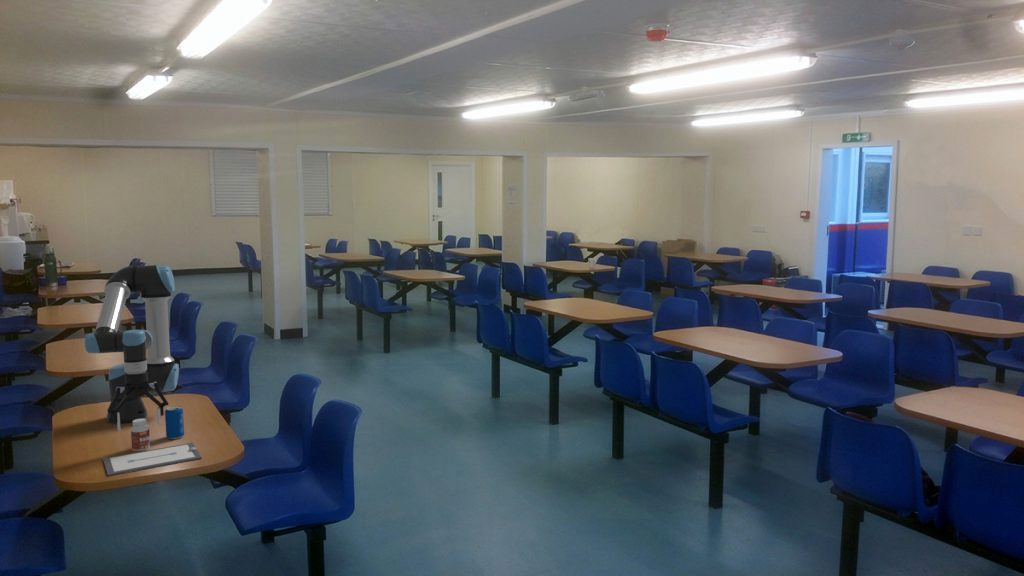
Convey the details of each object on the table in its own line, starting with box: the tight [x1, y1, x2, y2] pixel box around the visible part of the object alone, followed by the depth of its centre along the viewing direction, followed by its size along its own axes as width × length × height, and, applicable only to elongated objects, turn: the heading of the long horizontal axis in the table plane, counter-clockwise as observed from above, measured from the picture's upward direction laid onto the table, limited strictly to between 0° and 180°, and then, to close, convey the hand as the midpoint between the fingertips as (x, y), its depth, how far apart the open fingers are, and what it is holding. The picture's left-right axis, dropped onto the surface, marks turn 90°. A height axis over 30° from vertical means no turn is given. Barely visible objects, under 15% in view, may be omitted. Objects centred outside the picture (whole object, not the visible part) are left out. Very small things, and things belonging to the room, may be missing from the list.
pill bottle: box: [130, 418, 151, 452], centre depth 276 cm, size 6×6×11 cm
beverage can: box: [164, 405, 185, 440], centre depth 289 cm, size 6×6×12 cm
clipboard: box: [102, 442, 203, 477], centre depth 266 cm, size 18×30×1 cm, turn 124°
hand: (139, 427), depth 275 cm, fingers open, 13 cm apart
